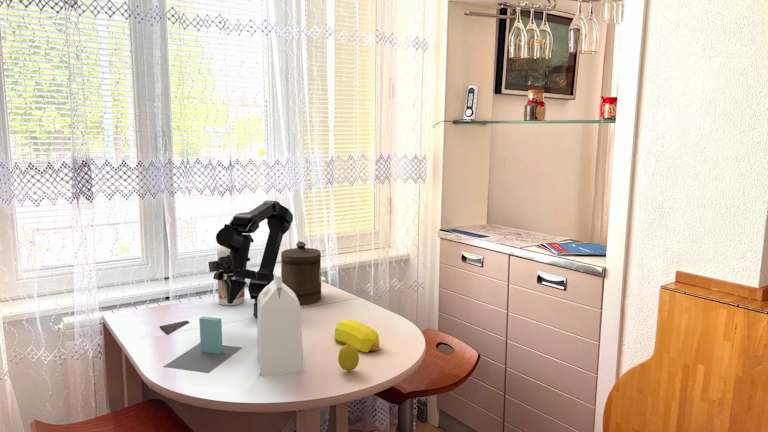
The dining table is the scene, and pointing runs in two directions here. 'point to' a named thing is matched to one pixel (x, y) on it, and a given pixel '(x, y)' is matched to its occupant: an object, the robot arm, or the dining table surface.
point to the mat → (202, 359)
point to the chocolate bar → (173, 327)
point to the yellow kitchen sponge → (357, 335)
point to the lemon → (348, 357)
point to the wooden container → (302, 272)
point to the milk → (279, 329)
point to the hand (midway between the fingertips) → (229, 303)
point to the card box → (211, 334)
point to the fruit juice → (221, 286)
